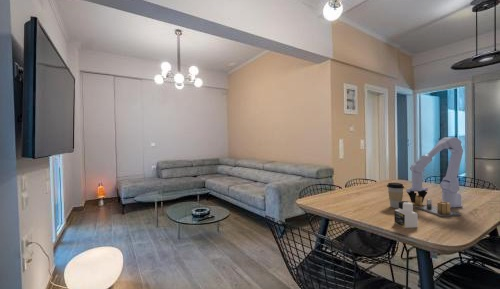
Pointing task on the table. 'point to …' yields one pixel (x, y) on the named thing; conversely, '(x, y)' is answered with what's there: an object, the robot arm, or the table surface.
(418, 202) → the tan wooden cube
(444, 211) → the block
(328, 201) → the table surface
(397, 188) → the coffee cup
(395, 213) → the medicine bottle
